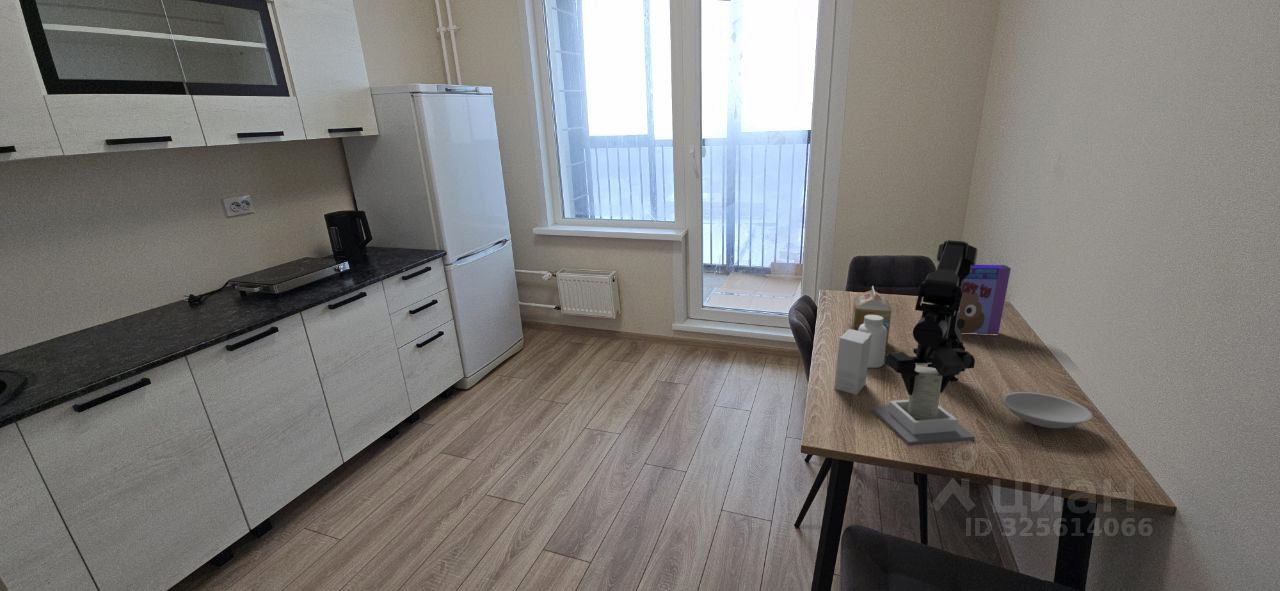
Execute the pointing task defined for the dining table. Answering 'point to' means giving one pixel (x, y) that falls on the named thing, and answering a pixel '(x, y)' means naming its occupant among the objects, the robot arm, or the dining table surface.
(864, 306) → the milk carton
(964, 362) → the robot arm
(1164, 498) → the dining table surface
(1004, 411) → the dining table surface
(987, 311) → the cereal box
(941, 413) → the socket stand
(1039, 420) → the dish
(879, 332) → the pill bottle
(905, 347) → the dining table surface
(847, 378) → the skincare box
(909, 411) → the skincare box
